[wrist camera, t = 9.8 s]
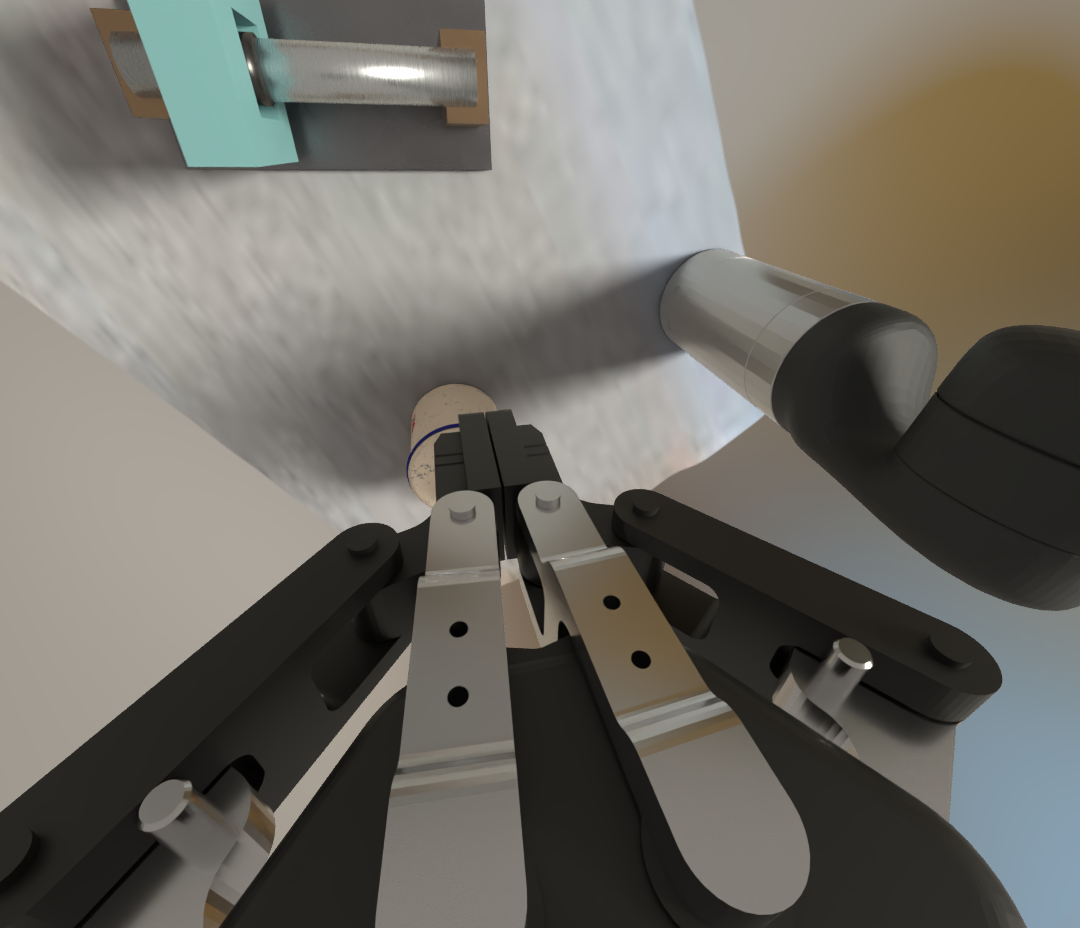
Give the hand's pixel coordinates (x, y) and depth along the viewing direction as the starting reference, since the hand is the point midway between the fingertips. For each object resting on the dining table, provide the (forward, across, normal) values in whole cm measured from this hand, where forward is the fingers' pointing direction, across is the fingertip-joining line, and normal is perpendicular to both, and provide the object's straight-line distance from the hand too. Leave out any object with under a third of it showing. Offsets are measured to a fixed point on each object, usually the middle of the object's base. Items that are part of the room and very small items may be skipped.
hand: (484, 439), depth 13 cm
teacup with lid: (+29, 0, +17) cm, 34 cm away
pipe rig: (+29, +6, -10) cm, 31 cm away
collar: (+26, +10, -10) cm, 30 cm away
